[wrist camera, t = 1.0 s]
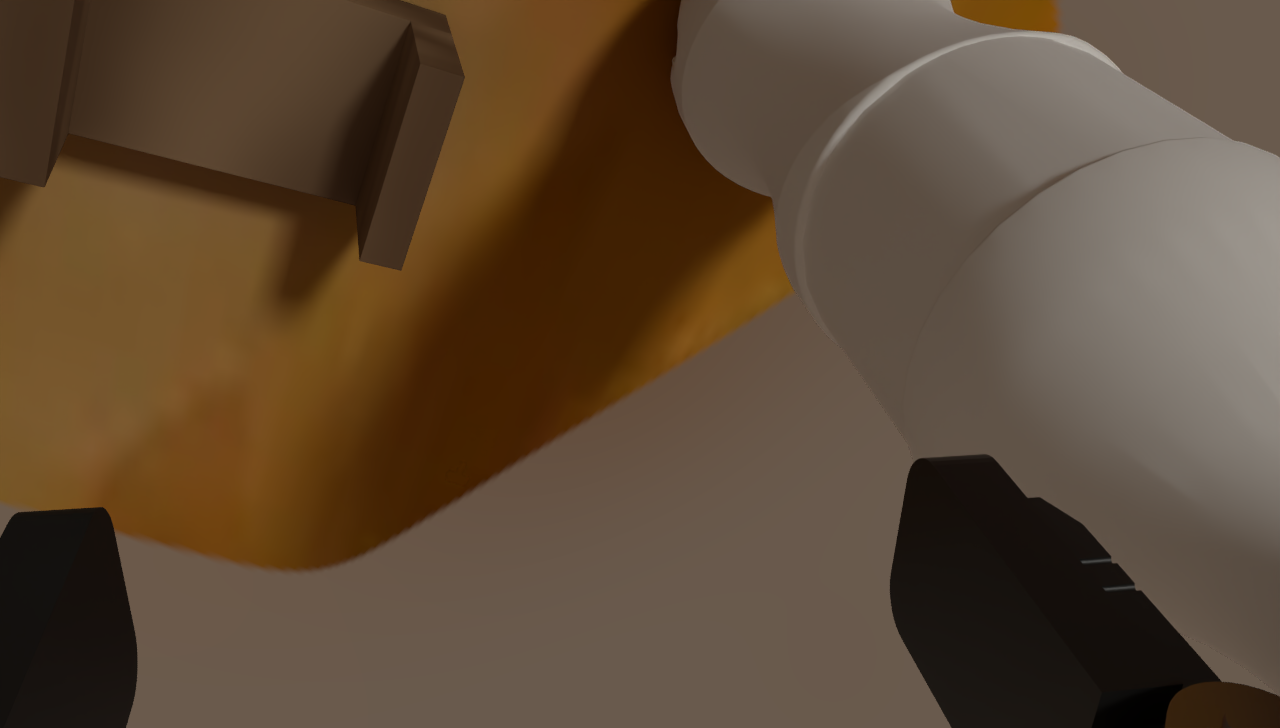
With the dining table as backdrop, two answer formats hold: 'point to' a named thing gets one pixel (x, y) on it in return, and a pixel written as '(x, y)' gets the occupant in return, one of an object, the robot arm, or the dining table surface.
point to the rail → (241, 95)
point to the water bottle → (1026, 272)
